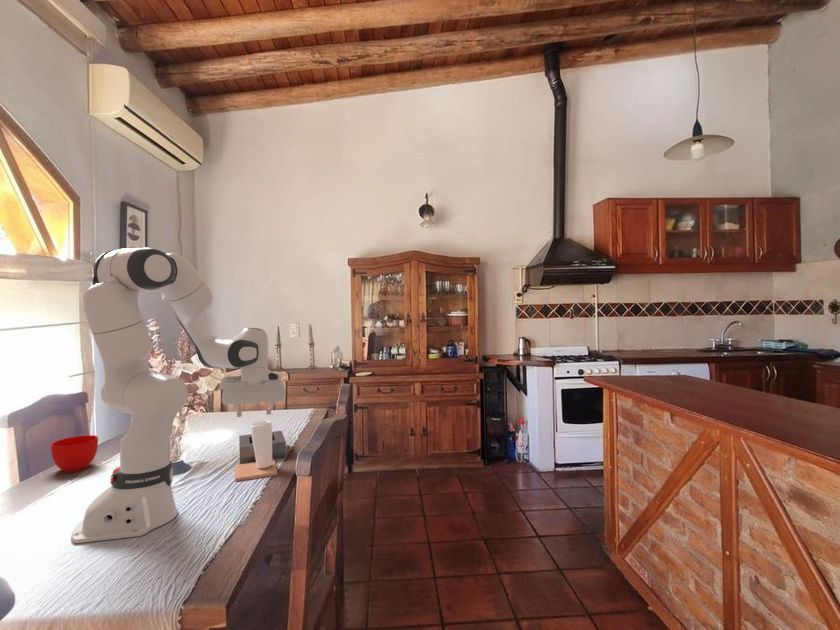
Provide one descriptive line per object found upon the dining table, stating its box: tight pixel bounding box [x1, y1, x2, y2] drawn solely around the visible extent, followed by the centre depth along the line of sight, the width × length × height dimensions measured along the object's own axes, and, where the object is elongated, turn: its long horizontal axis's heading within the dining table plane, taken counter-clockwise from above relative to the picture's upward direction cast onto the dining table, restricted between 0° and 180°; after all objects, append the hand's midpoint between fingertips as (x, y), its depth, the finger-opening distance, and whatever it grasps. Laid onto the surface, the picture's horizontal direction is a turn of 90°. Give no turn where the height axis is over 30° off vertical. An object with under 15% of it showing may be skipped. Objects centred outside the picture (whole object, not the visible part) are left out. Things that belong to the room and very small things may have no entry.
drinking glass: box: [250, 420, 274, 469], centre depth 147 cm, size 7×7×15 cm
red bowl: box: [50, 434, 99, 473], centre depth 152 cm, size 13×17×10 cm
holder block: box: [238, 430, 287, 465], centre depth 163 cm, size 16×16×6 cm
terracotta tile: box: [234, 459, 278, 482], centre depth 145 cm, size 13×13×1 cm
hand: (254, 415), depth 145 cm, fingers open, 8 cm apart
